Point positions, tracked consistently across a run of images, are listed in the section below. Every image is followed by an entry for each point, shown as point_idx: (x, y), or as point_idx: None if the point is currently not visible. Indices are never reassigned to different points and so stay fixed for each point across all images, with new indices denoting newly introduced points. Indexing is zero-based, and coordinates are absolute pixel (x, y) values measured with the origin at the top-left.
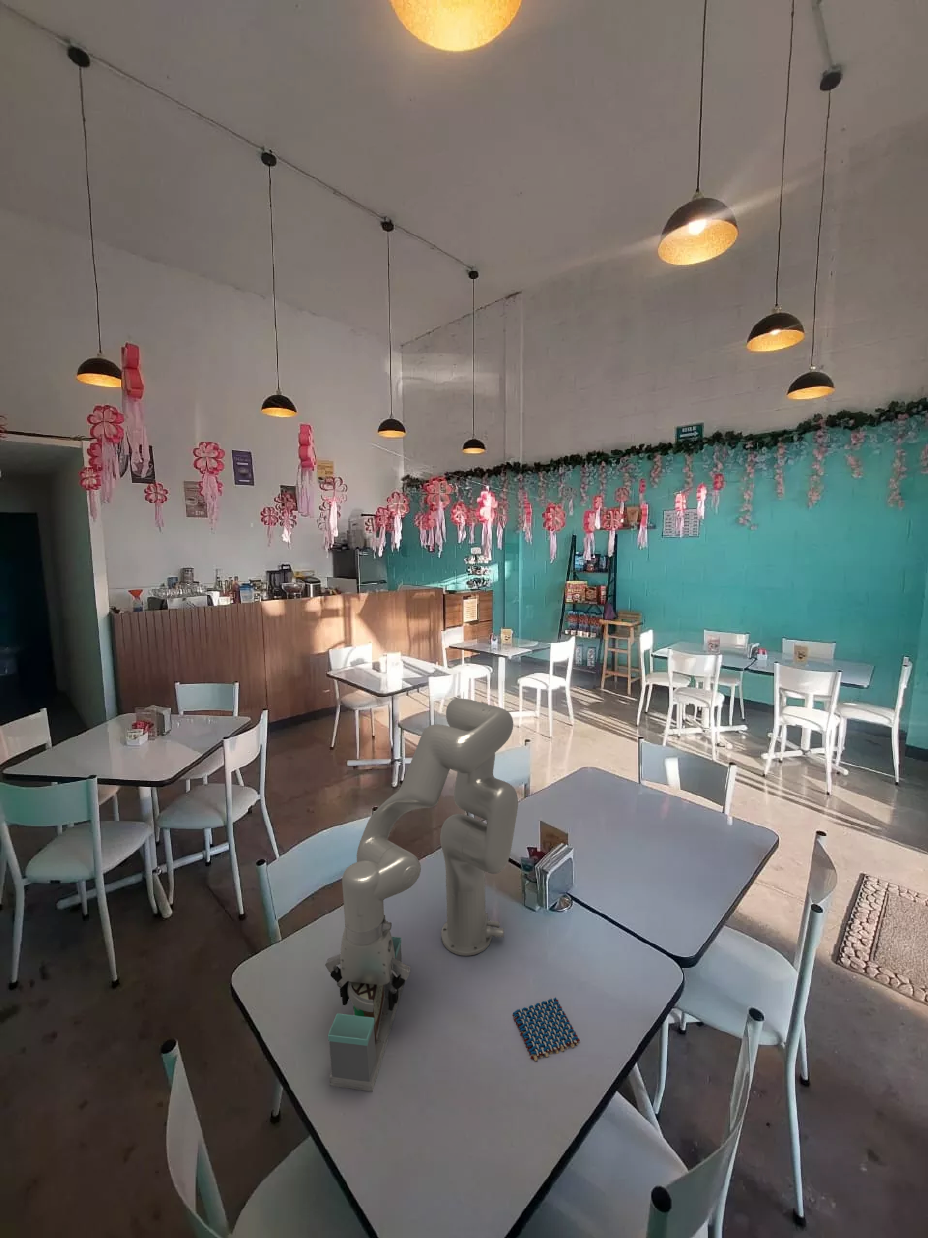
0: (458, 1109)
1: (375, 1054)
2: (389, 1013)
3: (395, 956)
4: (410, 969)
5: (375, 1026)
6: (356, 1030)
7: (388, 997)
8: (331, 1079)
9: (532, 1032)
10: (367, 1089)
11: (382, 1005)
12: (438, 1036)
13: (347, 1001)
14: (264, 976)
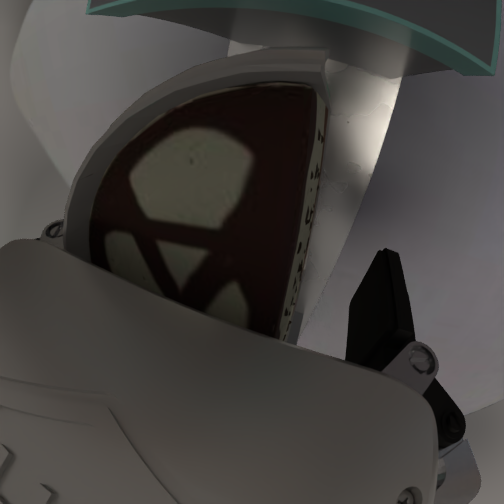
0: (439, 371)
1: (299, 329)
2: (353, 188)
3: (465, 71)
4: (476, 486)
5: (293, 316)
6: None
7: (347, 360)
8: None
9: None
10: None
11: (324, 150)
12: (476, 257)
13: None
14: (24, 58)
